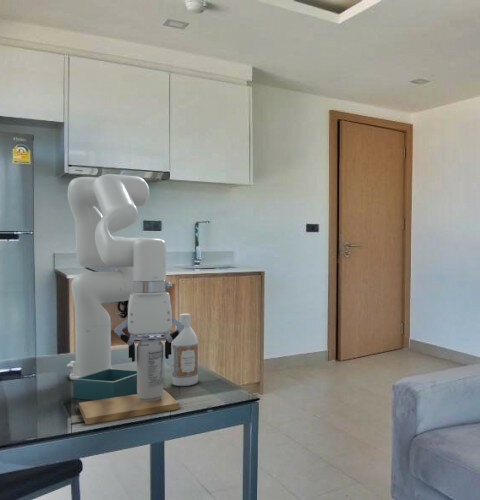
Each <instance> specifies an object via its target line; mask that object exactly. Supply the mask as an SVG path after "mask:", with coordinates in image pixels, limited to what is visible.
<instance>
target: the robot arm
mask: <svg viewBox="0 0 480 500" xmlns="http://www.w3.org/2000/svg"><path fill="white" fill-rule="evenodd" d="M149 198H150V188H149V184H148V183H147V181H146V180H145V179H144V178H142V177H141V176H137V175H125V174H116V173H115V174H114V173H106V174H101V175H100V176H98V177H97V176H96V177H94V176H80V177H79V176H78V177H75V178H73V179H71V180H70V181H69V183H68V186H67V201H68V205H69V208H70V211H71V213H72V217H73V221H74V230H75V231H74V232H75V234H74V235H75V255H76V262H77V263H78V264H79V266H81V267H84V268H115V270H114V271H105V270H103V271H86V272H81V273H79V274H76V275H75V276H74V277H73V278H72V280H71V287H70V288H71V294H72V300H73V307H74V327H75V328H74V330H75V331H74V333H75V334H74V335H75V337H74V338H75V347H74V348H75V351H74V352H75V353H74V354H75V360H71V361H70V362H69V363H67V364H66V369H72V372H71V373H70V374H69V379H70V380H72V381H73V379H75V378H79V377H82V376H85V375H89V374H92V373H95V372H99V371H102V370H105V369H108V368H113V369H115V368H114V367H112V323H111V322H112V321H111V319H112V318H111V315H110V313H109V312H108V310H106V309H105V308H104V307H105V306H103V305H102V304H106V303H116V302H117V303H119V302H126V301H128V303H127V304H128V306H127V318H126V319H125V320H124V321H122V322H121V323H120V324H119V325H117V326H116V327H115V328H114V330H113V333H115V334H116V336H117V337H119V338H120V340H122V341H123V342H124V343H125V344H126V345H127V346H128V359H131V362H132V363H134V362H135V361H136V343H135V340H137V339H136V338H137V337H138V336H140V335H156V334H163V336H164V338H165V341H164V359H165V360H168V359H170V356H172V342H173V340H174V339H175V338H176V337H177V336H178V335H179V333H180V332H181V331H182V330H183V329H184V327H185V326H184V324H182V323H181V322H180V320H178V319H177V318H175V317H174V316H173V311H172V302H171V295H170V292H167V290H168V289H173V282H169V281H167V243H166V241H165V240H164V239H162V238H152V237H126V236H116V235H114V236H113V235H112V234H113V233H117V232H119V231H121V230H124V229H126V228H128V227H131V226H132V225H133V224H134V223H135V222H136V221H137V219H138V217H139V211H138V208H137V207H142V206H144V205H145V204H147V202H148V201H149ZM97 207H99V209H100V210H99V209H98V208H97ZM173 325H174V326H176V328H175V330H174V331H172V330H173ZM125 328H127V331H128V334H130V335H129V336H128V335H127V334H125V333H124V332H123V330H125ZM171 331H172V333H171V334H170V332H171Z"/></svg>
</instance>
